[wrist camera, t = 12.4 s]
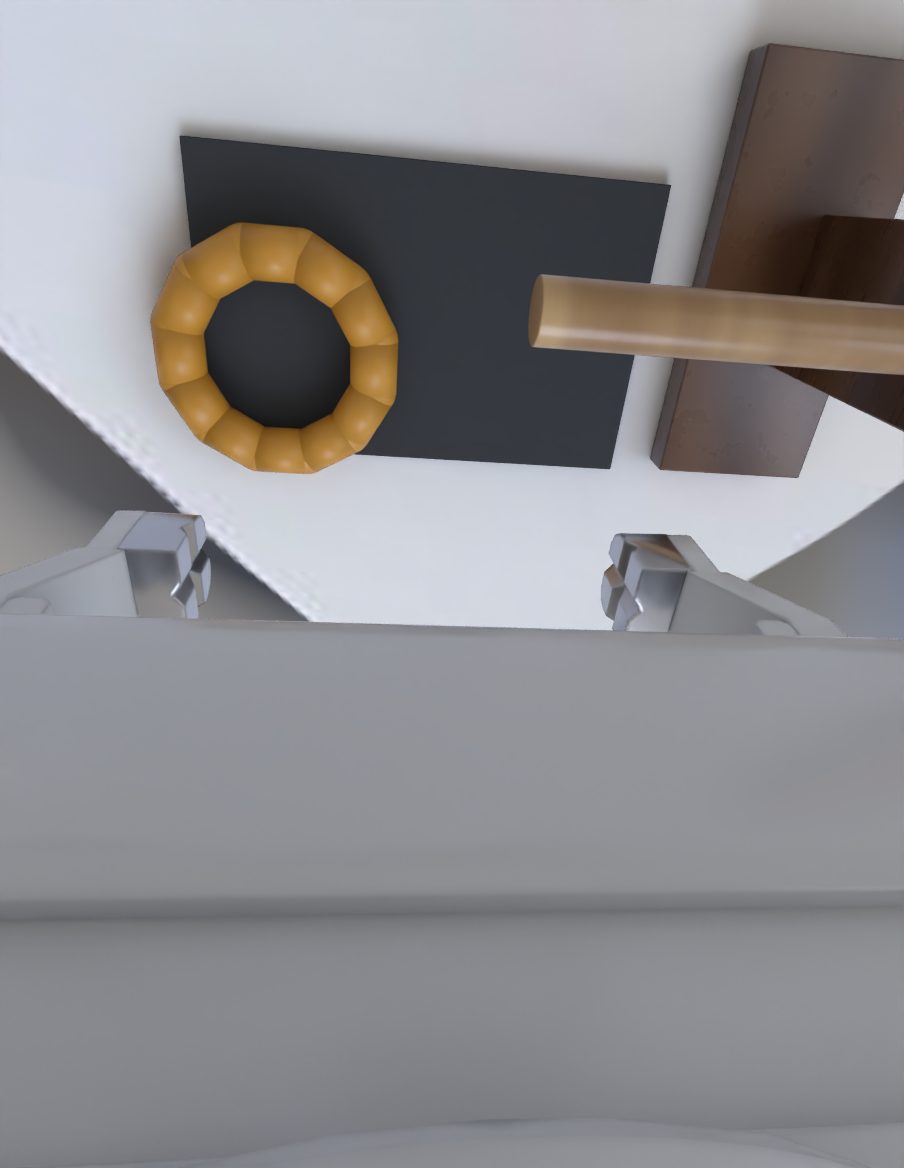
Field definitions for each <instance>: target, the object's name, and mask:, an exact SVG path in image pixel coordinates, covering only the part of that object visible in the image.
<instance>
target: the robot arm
mask: <svg viewBox="0 0 904 1168" xmlns="http://www.w3.org/2000/svg"><path fill="white" fill-rule="evenodd" d="M206 538H207V536H206V529H205V522H204V520H203V518H202V516H201V515H189V514H172V513H155V512H146V511H116V512H115V513H114V514H113V516H112V517H111V518H110V519H109V520H108V521H107V523H106V524H105V525H104V526H103V527H102V528H101V530H100V531H99V532H98V533H97V534H96V535H95V537H94V538H93V539H92V540H91V541H90V542H89V544H88V545H87V546H86V547H85V548H74V549H71V550H68V551H66V552H63V553H60V554H57V555H55V556H52V557H49V558H47V559H44V560H41V561H38V562H35V563H33V564H30V565H27V566H24V567H22V568H19V569H16V570H14V571H11V572H8V573H5V574H2V575H0V1168H904V639H889V638H856V637H848V636H847V635H846V634H845V633H844V632H843V631H842V630H841V629H840V628H839V627H838V626H837V625H836V624H835V623H834V622H833V621H832V620H829V619H827V618H825V617H823V616H821V615H818V614H816V613H814V612H812V611H810V610H808V609H805V608H803V607H801V606H799V605H797V604H794V603H792V602H790V601H788V600H786V599H784V598H781V597H779V596H777V595H775V594H773V593H771V592H768V591H766V590H764V589H762V588H760V587H757V586H755V585H753V584H751V583H749V582H747V581H745V580H742V579H740V578H738V577H736V576H734V575H731V574H729V573H725V572H719V570H718V569H717V568H716V567H715V565H714V564H713V563H712V562H711V561H710V559H709V558H708V557H707V556H706V554H705V553H704V552H703V551H702V550H701V548H700V547H699V546H698V545H697V544H696V542H695V541H694V540H693V539H692V537H691V536H687V535H666V534H626V533H620V534H616V535H615V536H614V538H613V540H612V542H611V546H610V550H609V555H610V557H611V559H612V561H613V564H612V565H611V566H610V567H609V568H608V569H607V570H606V571H605V572H604V576H603V581H602V586H601V602H602V607H603V610H604V612H605V614H606V616H607V617H609V618H610V619H612V620H614V623H613V627H612V629H613V631H611V630H576V629H541V628H506V627H471V626H436V625H401V624H366V623H332V622H297V621H262V620H261V621H259V620H226V619H198V617H199V615H198V607H199V606H200V605H203V604H204V603H205V601H206V599H207V597H208V594H209V587H210V581H211V579H210V577H211V576H210V575H211V573H210V560H209V557H208V556H207V555H206V554H205V552H204V551H203V550H202V549H201V547H202V545H203V543H204V542H205V540H206Z"/></svg>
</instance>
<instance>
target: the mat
mask: <svg viewBox="0 0 904 1168" xmlns="http://www.w3.org/2000/svg"><path fill="white" fill-rule="evenodd" d="M180 145H181V154H182V164H183V173H184V183H185V193H186V202H187V212H188V221H189V231H190V241H191V248H192V247H194V246H195V245H197V244H199V243H200V242H202V241H204V240H206V239H207V238H209V237H211V236H213V235H214V234H216V233H218V232H220V231H221V230H223V229H225V228H227V227H228V226H230V225H232V224H235V223H254V224H265V225H276V226H288V227H299V228H305V229H308V230H310V231H312V232H313V233H315V234H316V235H318V236H319V237H321V238H322V239H323V240H325V241H326V242H327V243H329V244H330V245H332V246H333V247H334V248H336V249H337V250H339V251H340V252H341V253H343V254H344V255H346V256H347V257H348V258H350V259H351V260H352V261H354V262H355V263H357V264H358V265H359V266H361V267H362V268H363V269H364V270H365V271H366V272H367V273H368V274H369V276H370V278H371V280H372V282H373V284H374V286H375V288H376V290H377V292H378V294H379V296H380V298H381V300H382V302H383V304H384V306H385V308H386V310H387V312H388V314H389V316H390V318H391V320H392V322H393V324H394V326H395V328H396V331H397V334H398V363H397V388H396V398H395V401H394V403H393V405H392V406H391V408H390V409H389V411H388V413H387V414H386V416H385V417H384V419H383V420H382V422H381V423H380V425H379V427H378V428H377V430H376V431H375V433H374V434H373V436H372V437H371V439H370V441H369V442H368V444H367V445H366V446H365V447H364V448H363V449H362V450H361V451H359V452H357V453H355V454H358V455H375V456H392V457H410V458H427V459H444V460H461V461H478V462H495V463H512V464H529V465H546V466H564V467H581V468H598V469H610V467H611V462H612V458H613V453H614V448H615V444H616V439H617V434H618V430H619V425H620V420H621V416H622V411H623V406H624V402H625V397H626V392H627V388H628V383H629V379H630V374H631V369H632V365H633V360H634V355H630V354H616V353H603V352H590V351H577V350H563V349H550V348H537V347H532V346H531V345H530V342H529V336H528V321H529V310H530V302H531V296H532V292H533V288H534V284H535V281H536V279H537V277H538V276H539V275H541V274H545V275H557V276H568V277H580V278H591V279H603V280H615V281H626V282H638V283H649V284H650V281H651V276H652V272H653V267H654V262H655V258H656V253H657V248H658V244H659V239H660V235H661V230H662V225H663V221H664V216H665V211H666V207H667V202H668V197H669V193H670V188H671V185H665V184H655V183H646V182H636V181H626V180H616V179H606V178H596V177H586V176H576V175H566V174H556V173H547V172H537V171H527V170H517V169H507V168H497V167H487V166H477V165H467V164H457V163H447V162H438V161H428V160H418V159H408V158H398V157H388V156H378V155H368V154H358V153H348V152H338V151H329V150H319V149H309V148H299V147H289V146H279V145H269V144H259V143H249V142H239V141H230V140H220V139H210V138H200V137H190V136H180ZM204 338H205V348H206V357H207V367H208V373H209V375H210V376H211V378H212V379H213V381H214V382H215V384H216V385H217V387H218V388H219V390H220V391H221V393H222V394H223V396H224V397H225V399H226V400H227V402H228V403H229V405H230V406H231V407H232V408H234V409H236V410H238V411H239V412H241V413H243V414H244V415H246V416H248V417H249V418H251V419H253V420H254V421H256V422H258V423H259V424H261V425H263V426H264V427H280V428H296V429H302V428H304V427H306V426H308V425H310V424H312V423H314V422H316V421H318V420H320V419H322V418H324V417H326V416H328V415H330V414H332V413H333V411H334V409H335V408H336V406H337V404H338V403H339V401H340V399H341V398H342V396H343V394H344V393H345V391H346V389H347V388H348V386H349V385H350V344H349V342H348V340H347V338H346V336H345V334H344V332H343V331H342V329H341V327H340V325H339V323H338V321H337V319H336V317H335V316H334V314H333V312H332V310H331V308H330V307H328V306H327V305H325V304H324V303H322V302H321V301H319V300H318V299H316V298H315V297H314V296H312V295H311V294H309V293H308V292H306V291H305V290H303V289H302V288H300V287H299V286H297V285H296V284H292V283H280V282H268V281H256V280H254V281H252V282H250V283H248V284H246V285H245V286H243V287H241V288H239V289H237V290H236V291H234V292H232V293H230V294H228V295H227V296H225V297H223V298H221V299H220V301H219V303H218V305H217V307H216V309H215V311H214V313H213V315H212V317H211V319H210V322H209V324H208V326H207V328H206V330H205V332H204Z"/></svg>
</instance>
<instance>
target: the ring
mask: <svg viewBox="0 0 904 1168" xmlns="http://www.w3.org/2000/svg"><path fill="white" fill-rule="evenodd" d="M254 280H256V281H268V282H280V283H292V284H296V285H297V286H299V287H300V288H302V289H303V290H305V291H306V292H308V293H309V294H311V295H312V296H314V297H315V298H316V299H318V300H319V301H321V302H322V303H324V304H325V305H327V306H328V307H330V308H331V310H332V312H333V314H334V316H335V317H336V319H337V321H338V323H339V325H340V327H341V329H342V331H343V332H344V334H345V336H346V338H347V340H348V342H349V344H350V385H349V386H348V388H347V389H346V391H345V393H344V394H343V396H342V398H341V399H340V401H339V403H338V404H337V406H336V408H335V409H334V411H333V413H332V414H330V415H328V416H326V417H324V418H322V419H320V420H318V421H316V422H314V423H312V424H310V425H308V426H306V427H304V428H302V429H296V428H280V427H264V426H263V425H261V424H259V423H258V422H256V421H254V420H253V419H251V418H249V417H248V416H246V415H244V414H243V413H241V412H239V411H238V410H236V409H234V408H232V407H231V406H230V405H229V403H228V402H227V400H226V399H225V397H224V396H223V394H222V393H221V391H220V390H219V388H218V387H217V385H216V384H215V382H214V381H213V379H212V378H211V376H210V375H209V373H208V367H207V357H206V348H205V338H204V332H205V330H206V328H207V326H208V324H209V322H210V319H211V317H212V315H213V313H214V311H215V309H216V307H217V305H218V303H219V301H220V299H221V298H223V297H225V296H227V295H228V294H230V293H232V292H234V291H236V290H237V289H239V288H241V287H243V286H245V285H246V284H248V283H250V282H252V281H254ZM150 323H151V331H152V338H153V345H154V352H155V360H156V367H157V374H158V380H159V384H160V386H161V388H162V390H163V391H164V393H165V394H166V396H167V397H168V399H169V400H170V401H171V403H172V404H173V406H174V407H175V409H176V410H177V411H178V413H179V414H180V416H181V417H182V418H183V420H184V421H185V423H186V424H187V426H188V427H189V428H190V430H191V431H192V433H193V434H194V435H195V437H196V438H197V439H198V440H200V441H201V442H202V443H204V444H206V445H208V446H209V447H211V448H213V449H215V450H216V451H218V452H220V453H222V454H224V455H225V456H227V457H229V458H231V459H232V460H234V461H236V462H238V463H239V464H241V465H243V466H245V467H247V468H248V469H251V470H254V471H261V472H279V473H297V474H312V473H316V472H318V471H320V470H322V469H324V468H326V467H328V466H330V465H332V464H334V463H337V462H339V461H341V460H343V459H345V458H347V457H349V456H351V455H353V454H355V453H357V452H359V451H361V450H362V449H363V448H364V447H365V446H366V445H367V444H368V442H369V441H370V439H371V437H372V436H373V434H374V433H375V431H376V430H377V428H378V427H379V425H380V423H381V422H382V420H383V419H384V417H385V416H386V414H387V413H388V411H389V409H390V408H391V406H392V405H393V403H394V401H395V398H396V388H397V363H398V334H397V331H396V328H395V326H394V324H393V322H392V320H391V318H390V316H389V314H388V312H387V310H386V308H385V306H384V304H383V302H382V300H381V298H380V296H379V294H378V292H377V290H376V288H375V286H374V284H373V282H372V280H371V278H370V276H369V274H368V273H367V272H366V271H365V270H364V269H363V268H362V267H361V266H359V265H358V264H357V263H355V262H354V261H352V260H351V259H350V258H348V257H347V256H346V255H344V254H343V253H341V252H340V251H339V250H337V249H336V248H334V247H333V246H332V245H330V244H329V243H327V242H326V241H325V240H323V239H322V238H321V237H319V236H318V235H316V234H315V233H313V232H312V231H310V230H308V229H305V228H299V227H288V226H276V225H265V224H254V223H235V224H232V225H230V226H228V227H227V228H225V229H223V230H221V231H220V232H218V233H216V234H214V235H213V236H211V237H209V238H207V239H206V240H204V241H202V242H200V243H199V244H197V245H195V246H194V247H192V248H190V249H188V250H187V251H185V252H183V253H182V254H180V255H179V256H178V257H177V258H176V260H175V262H174V264H173V266H172V268H171V271H170V273H169V275H168V277H167V280H166V282H165V284H164V286H163V289H162V291H161V293H160V295H159V298H158V300H157V302H156V305H155V307H154V309H153V311H152V314H151V321H150Z"/></svg>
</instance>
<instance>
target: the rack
mask: <svg viewBox="0 0 904 1168" xmlns="http://www.w3.org/2000/svg"><path fill="white" fill-rule="evenodd" d="M903 193H904V60H902V59H894V58H886V57H878V56H870V55H862V54H853V53H845V52H837V51H829V50H821V49H813V48H805V47H797V46H789V45H781V44H773V43H769V44H766V45H764V46H761V47H759V48H756V49H754V50H751V52H750V55H749V59H748V63H747V67H746V72H745V76H744V80H743V84H742V88H741V92H740V96H739V100H738V104H737V108H736V112H735V116H734V120H733V124H732V128H731V133H730V137H729V141H728V145H727V149H726V153H725V157H724V161H723V165H722V169H721V173H720V177H719V181H718V185H717V190H716V194H715V198H714V202H713V206H712V210H711V214H710V218H709V222H708V226H707V230H706V234H705V238H704V242H703V246H702V251H701V255H700V259H699V263H698V267H697V271H696V275H695V279H694V283H693V287H684V286H673V285H661V284H649V283H638V282H626V281H615V280H603V279H591V278H580V277H568V276H557V275H545V274H541V275H539V276H538V277H537V279H536V281H535V284H534V288H533V292H532V296H531V302H530V310H529V321H528V336H529V342H530V345H531V346H532V347H537V348H550V349H563V350H577V351H590V352H603V353H616V354H630V355H643V356H656V357H669V358H675V360H674V364H673V369H672V373H671V377H670V381H669V385H668V389H667V393H666V397H665V401H664V405H663V409H662V413H661V417H660V421H659V426H658V430H657V434H656V438H655V442H654V446H653V450H652V454H651V458H650V459H651V461H652V462H653V463H654V464H655V465H656V466H657V467H658V468H659V469H660V470H670V471H687V472H704V473H721V474H738V475H755V476H772V477H789V478H798V477H799V474H800V471H801V469H802V466H803V463H804V461H805V458H806V455H807V452H808V450H809V447H810V444H811V442H812V439H813V436H814V434H815V431H816V428H817V425H818V423H819V420H820V417H821V415H822V412H823V409H824V406H825V404H826V401H827V398H828V396H829V395H830V396H832V397H834V398H836V399H838V400H840V401H842V402H844V403H846V404H848V405H850V406H852V407H854V408H856V409H858V410H860V411H862V412H864V413H867V414H869V415H871V416H873V417H875V418H877V419H879V420H881V421H883V422H885V423H887V424H889V425H891V426H893V427H895V428H897V429H899V430H901V431H903V432H904V220H902V219H894V217H895V214H896V212H897V209H898V206H899V204H900V201H901V198H902V195H903Z"/></svg>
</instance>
